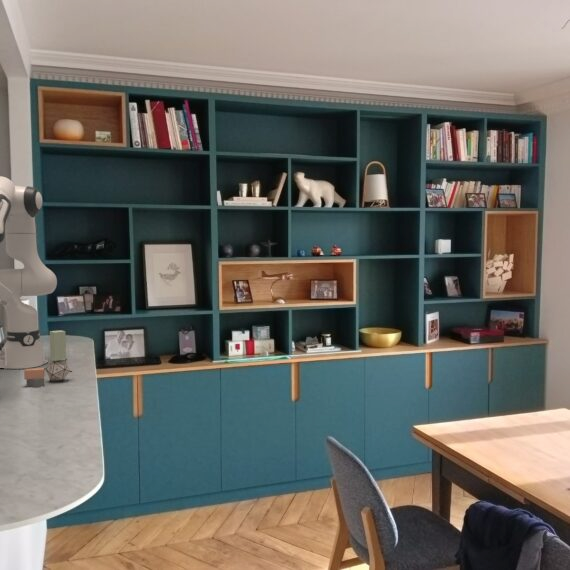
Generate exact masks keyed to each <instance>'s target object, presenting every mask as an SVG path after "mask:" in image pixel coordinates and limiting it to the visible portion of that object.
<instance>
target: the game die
mask: <svg viewBox="0 0 570 570" xmlns="http://www.w3.org/2000/svg"><path fill="white" fill-rule="evenodd" d="M67 361H68V358H66V359H65V360H58V361H54V360H52V361H51V362H50V364H48V366H47V367H43V368H44V371H45V372H46V373H47V375H48V378H49V381H50V382H51V381H61V382H62V383H64V379H65V378H66V377H67V375H68V374H69V373H72V372H73V370H70V368H69V366H68V363H67ZM49 381H48V382H49Z"/></svg>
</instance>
